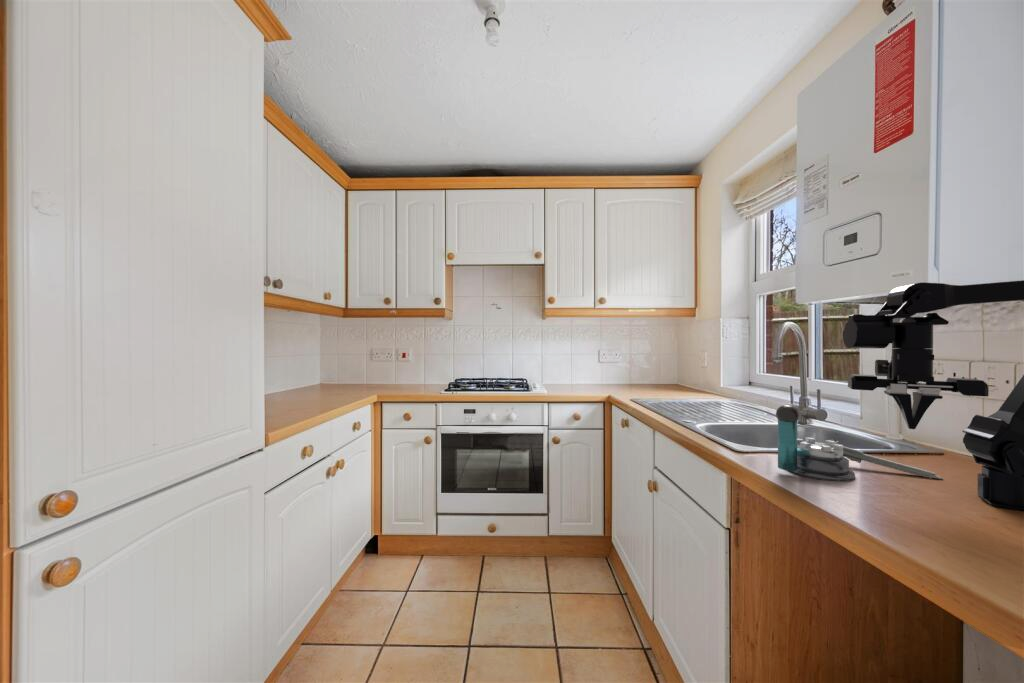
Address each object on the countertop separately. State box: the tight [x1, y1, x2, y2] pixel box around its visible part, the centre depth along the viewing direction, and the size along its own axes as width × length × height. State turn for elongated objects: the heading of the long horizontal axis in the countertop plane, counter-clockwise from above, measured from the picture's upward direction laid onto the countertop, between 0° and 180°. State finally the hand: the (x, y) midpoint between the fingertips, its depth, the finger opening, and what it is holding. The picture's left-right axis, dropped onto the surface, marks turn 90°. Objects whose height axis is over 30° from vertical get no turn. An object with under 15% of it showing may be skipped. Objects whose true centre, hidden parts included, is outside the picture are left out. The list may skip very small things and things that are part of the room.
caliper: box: [830, 438, 944, 480], centre depth 94 cm, size 20×1×6 cm, turn 54°
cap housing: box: [789, 455, 856, 482], centre depth 93 cm, size 13×13×4 cm
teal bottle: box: [775, 404, 844, 472], centre depth 92 cm, size 9×16×14 cm, turn 106°
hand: (911, 428), depth 79 cm, fingers closed
